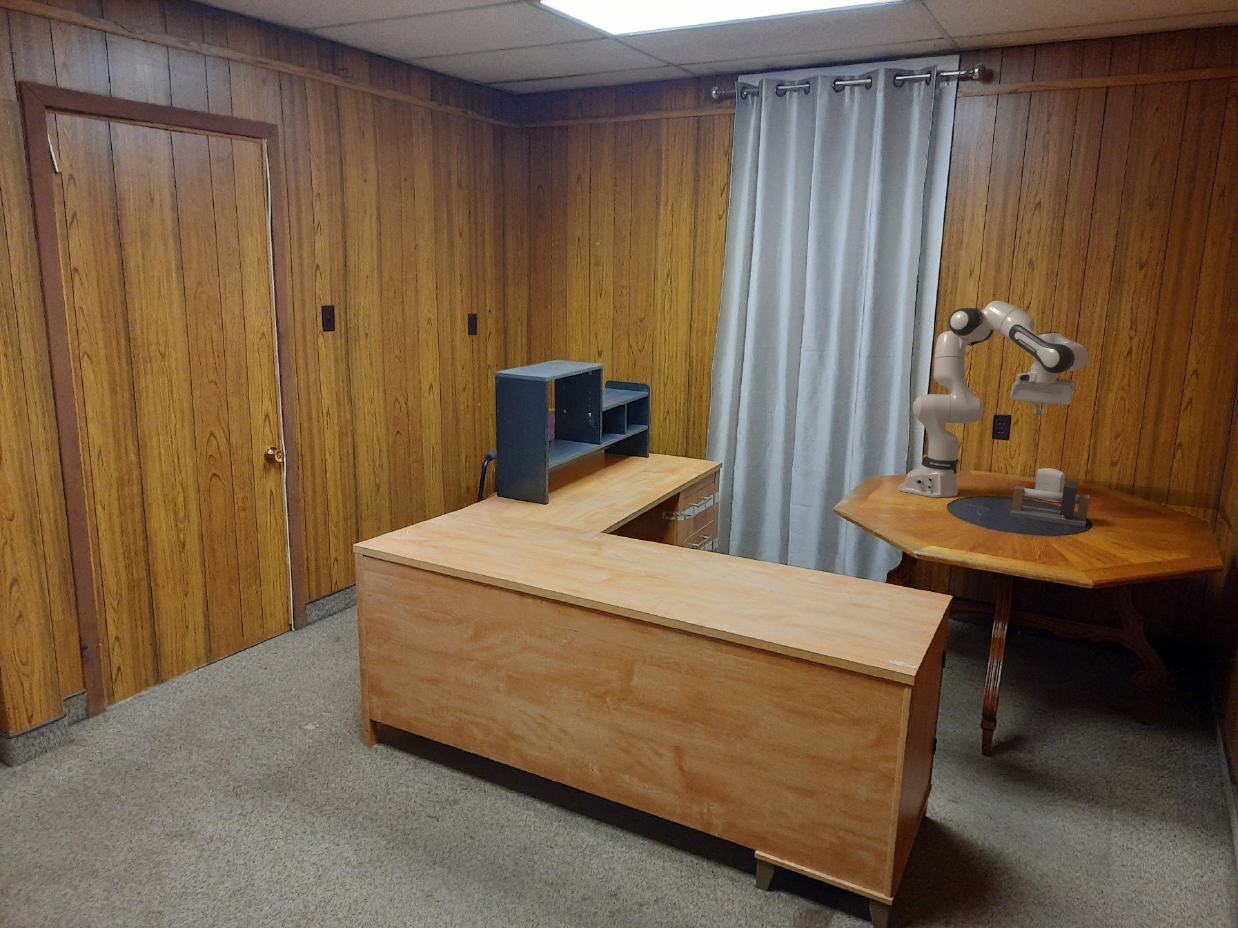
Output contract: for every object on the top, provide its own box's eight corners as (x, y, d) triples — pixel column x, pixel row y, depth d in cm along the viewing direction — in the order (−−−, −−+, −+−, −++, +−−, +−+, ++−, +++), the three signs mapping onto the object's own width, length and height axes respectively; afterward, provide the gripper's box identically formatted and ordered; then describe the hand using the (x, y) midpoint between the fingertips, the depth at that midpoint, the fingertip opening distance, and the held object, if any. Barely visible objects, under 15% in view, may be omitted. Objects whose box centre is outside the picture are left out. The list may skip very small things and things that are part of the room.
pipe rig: (1009, 516, 309) (1013, 490, 307) (1013, 508, 319) (1016, 483, 317) (1085, 527, 298) (1089, 500, 296) (1086, 518, 308) (1090, 492, 306)
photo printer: (1031, 497, 334) (1035, 467, 331) (1036, 496, 337) (1040, 465, 334) (1058, 503, 326) (1062, 472, 323) (1063, 502, 329) (1068, 470, 326)
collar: (1059, 514, 302) (1063, 486, 300) (1061, 507, 310) (1065, 480, 308) (1072, 516, 300) (1076, 488, 298) (1074, 509, 308) (1078, 482, 306)
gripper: (1076, 378, 307) (1071, 416, 310) (1014, 373, 317) (1009, 410, 320) (1075, 380, 302) (1070, 418, 305) (1012, 375, 312) (1007, 413, 315)
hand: (1038, 414), depth 313 cm, fingers closed
